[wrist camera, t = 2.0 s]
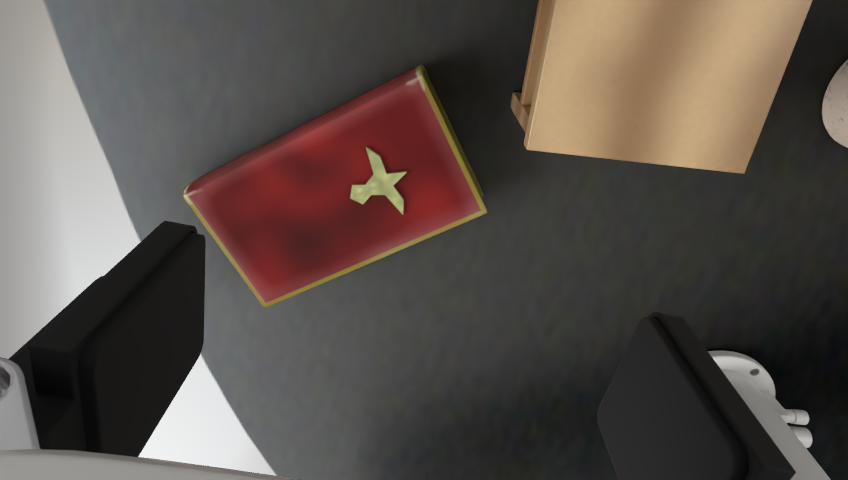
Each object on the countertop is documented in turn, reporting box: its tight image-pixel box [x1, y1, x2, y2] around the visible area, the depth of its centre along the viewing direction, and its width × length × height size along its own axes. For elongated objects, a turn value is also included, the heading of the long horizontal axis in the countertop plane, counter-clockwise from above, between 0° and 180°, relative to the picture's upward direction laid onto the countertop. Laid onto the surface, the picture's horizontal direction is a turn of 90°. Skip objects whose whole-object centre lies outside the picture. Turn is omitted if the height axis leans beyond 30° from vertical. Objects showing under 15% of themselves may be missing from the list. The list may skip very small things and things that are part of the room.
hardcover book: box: [183, 65, 488, 308], centre depth 43 cm, size 12×21×4 cm, turn 116°
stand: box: [510, 0, 813, 174], centre depth 33 cm, size 13×13×12 cm
